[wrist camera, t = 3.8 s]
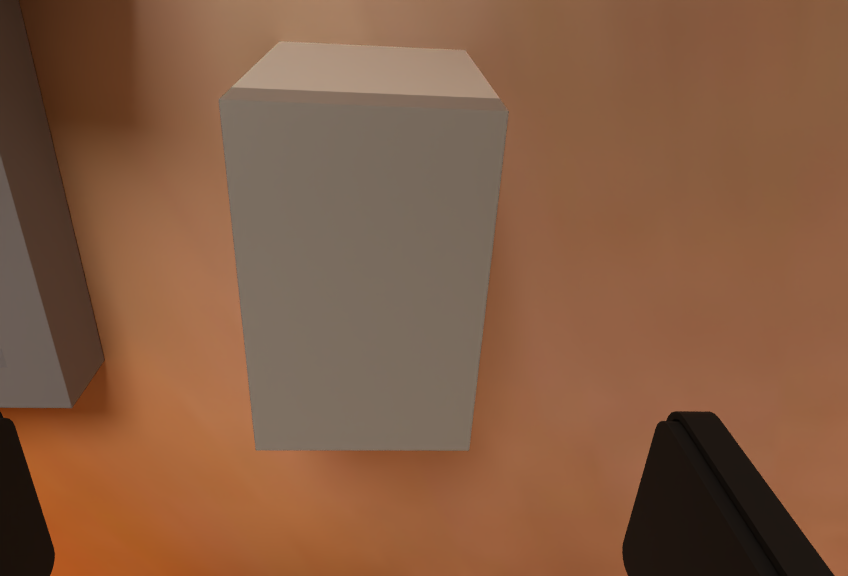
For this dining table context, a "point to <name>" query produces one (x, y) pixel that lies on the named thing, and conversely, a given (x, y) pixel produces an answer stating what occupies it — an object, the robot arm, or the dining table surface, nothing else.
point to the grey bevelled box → (363, 241)
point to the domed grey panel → (37, 247)
